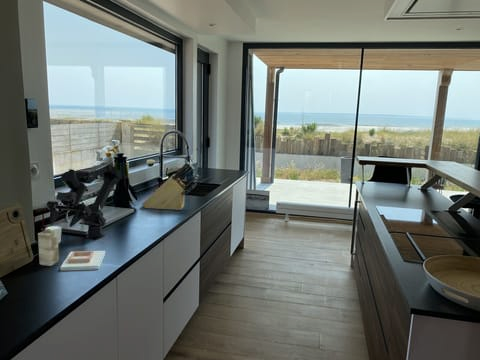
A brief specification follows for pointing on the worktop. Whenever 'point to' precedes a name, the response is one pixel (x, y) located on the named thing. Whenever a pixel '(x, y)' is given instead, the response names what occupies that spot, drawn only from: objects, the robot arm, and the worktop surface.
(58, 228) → the white cup
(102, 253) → the base plate
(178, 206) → the knife block
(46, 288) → the worktop surface
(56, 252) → the maple pillar
